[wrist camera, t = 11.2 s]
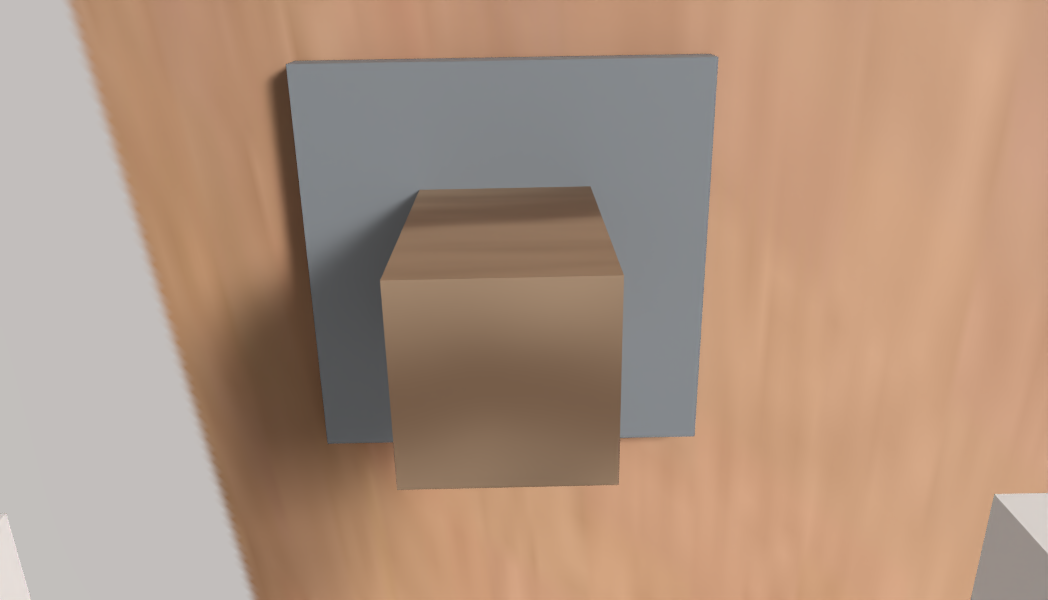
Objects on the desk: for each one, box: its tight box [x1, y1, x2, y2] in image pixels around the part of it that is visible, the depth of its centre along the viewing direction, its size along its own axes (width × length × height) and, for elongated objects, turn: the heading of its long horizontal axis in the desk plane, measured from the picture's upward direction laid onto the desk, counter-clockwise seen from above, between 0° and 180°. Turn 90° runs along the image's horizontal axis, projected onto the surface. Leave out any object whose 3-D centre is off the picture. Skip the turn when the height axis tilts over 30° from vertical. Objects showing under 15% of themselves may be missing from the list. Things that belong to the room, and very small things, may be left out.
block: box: [380, 186, 624, 490], centre depth 22 cm, size 5×5×8 cm
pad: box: [286, 54, 718, 444], centre depth 26 cm, size 12×12×1 cm
